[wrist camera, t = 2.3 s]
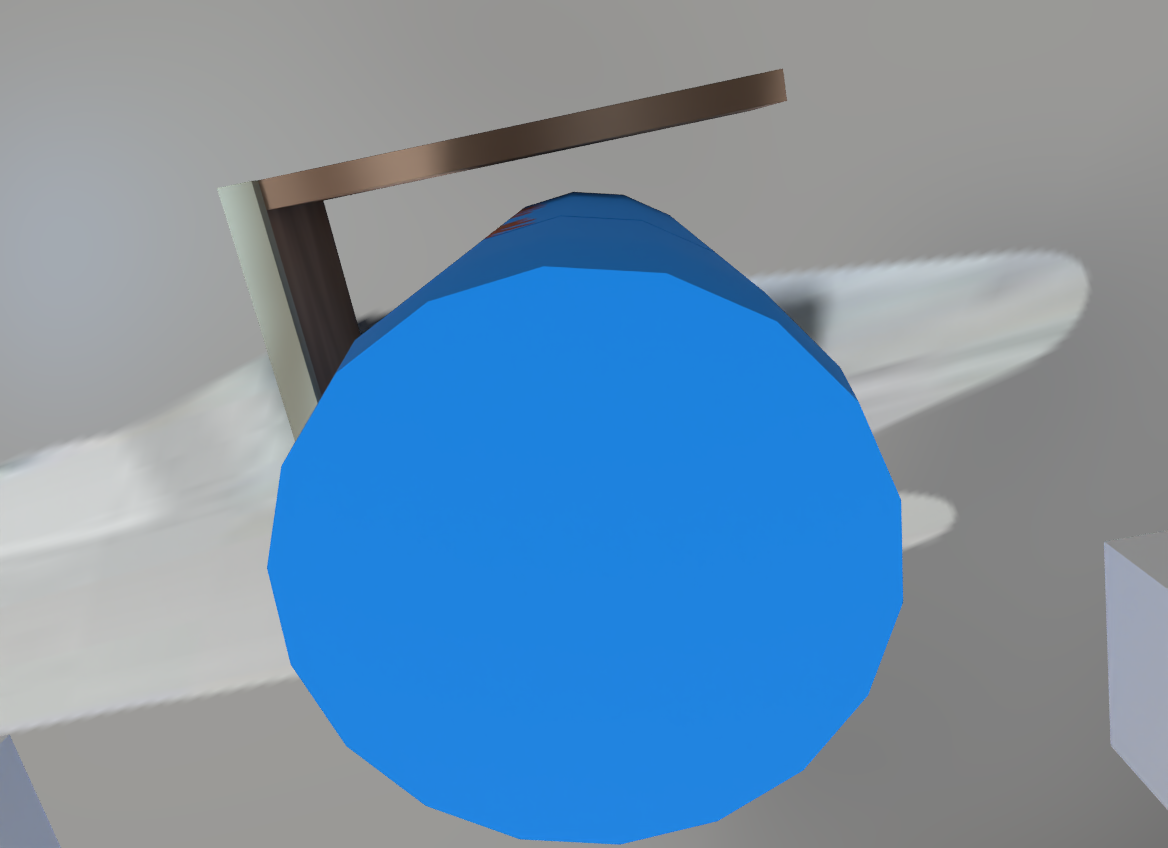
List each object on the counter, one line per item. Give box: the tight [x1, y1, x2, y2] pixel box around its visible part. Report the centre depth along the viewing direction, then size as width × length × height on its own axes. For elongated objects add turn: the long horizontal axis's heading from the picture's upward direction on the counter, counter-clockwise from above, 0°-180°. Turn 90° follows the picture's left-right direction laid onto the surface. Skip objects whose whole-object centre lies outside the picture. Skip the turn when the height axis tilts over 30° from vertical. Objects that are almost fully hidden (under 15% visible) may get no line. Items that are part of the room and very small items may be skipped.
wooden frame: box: [217, 69, 787, 442], centre depth 35 cm, size 19×16×8 cm
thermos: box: [267, 192, 903, 844], centre depth 27 cm, size 11×11×25 cm
